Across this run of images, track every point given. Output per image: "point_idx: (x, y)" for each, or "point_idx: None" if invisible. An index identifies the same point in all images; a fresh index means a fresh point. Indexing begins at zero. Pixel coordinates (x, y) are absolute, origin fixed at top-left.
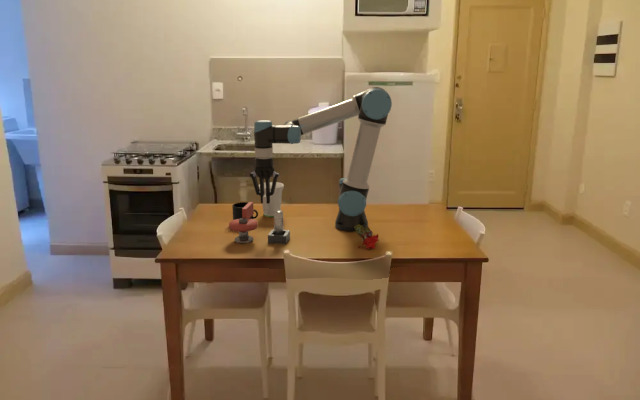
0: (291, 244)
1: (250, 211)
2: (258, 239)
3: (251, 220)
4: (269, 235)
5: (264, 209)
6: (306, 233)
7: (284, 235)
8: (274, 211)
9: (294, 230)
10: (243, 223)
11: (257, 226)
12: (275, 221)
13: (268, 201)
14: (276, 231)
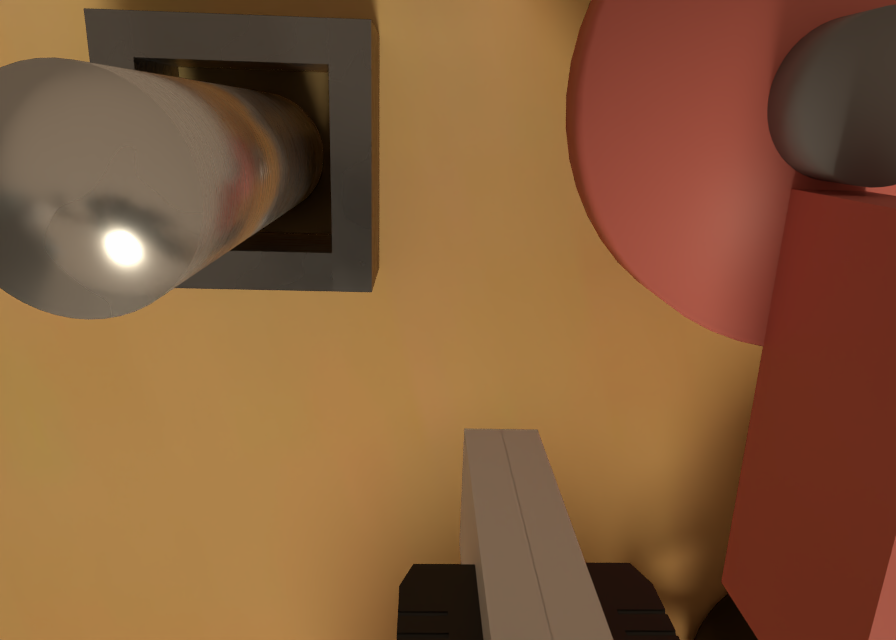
0: (63, 22)
1: (800, 481)
2: (530, 163)
3: (709, 246)
4: (344, 19)
5: (515, 449)
6: (14, 433)
7: (115, 41)
8: (179, 191)
9: (184, 508)
10: (839, 18)
11: (569, 144)
12: (204, 90)
13: (423, 605)
14: (243, 90)
